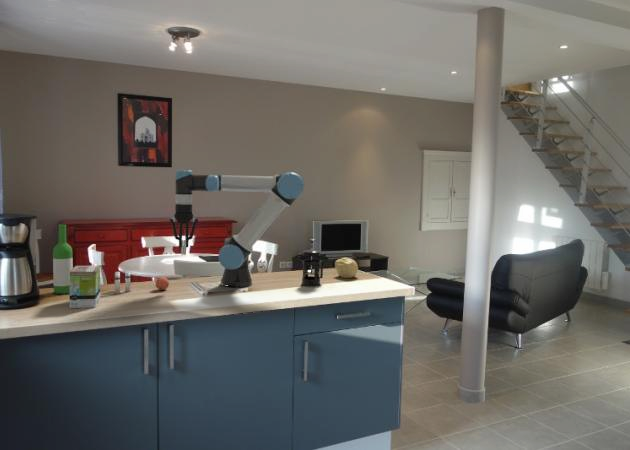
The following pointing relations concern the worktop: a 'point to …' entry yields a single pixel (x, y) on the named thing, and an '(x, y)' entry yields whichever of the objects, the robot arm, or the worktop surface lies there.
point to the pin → (117, 283)
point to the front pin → (127, 282)
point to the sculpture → (346, 267)
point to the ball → (162, 283)
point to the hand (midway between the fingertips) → (183, 254)
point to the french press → (311, 279)
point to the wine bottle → (62, 263)
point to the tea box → (84, 286)
